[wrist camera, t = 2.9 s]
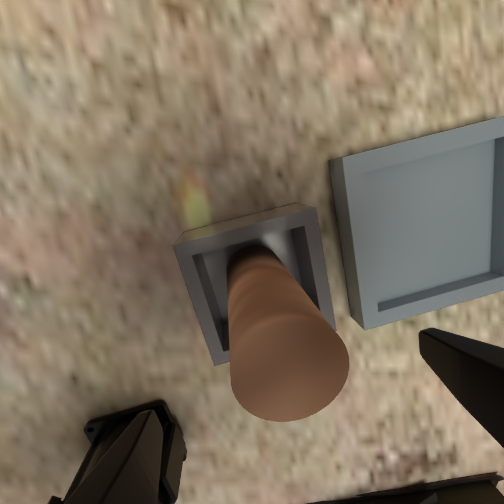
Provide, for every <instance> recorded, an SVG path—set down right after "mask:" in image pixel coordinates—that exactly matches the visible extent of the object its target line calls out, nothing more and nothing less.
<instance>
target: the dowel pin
mask: <svg viewBox="0 0 504 504" xmlns="http://www.w3.org/2000/svg"><path fill="white" fill-rule="evenodd" d="M227 296H228V322H229V349H230V376H231V386H232V390H233V393H234V395H235V397H236V399H237V400H238V402H239V403H240V404H241V406H242V407H243V408H244V409H246V410H247V411H248V412H250V413H251V414H253V415H255V416H257V417H259V418H262V419H265V420H270V421H277V422H287V421H295V420H299V419H303V418H306V417H308V416H311V415H313V414H315V413H317V412H318V411H320V410H322V409H323V408H325V407H326V406H327V405H328V404H329V403H331V402H332V401H333V400H334V399H335V397H336V396H337V395H338V394H339V392H340V391H341V389H342V388H343V386H344V384H345V382H346V379H347V376H348V371H349V356H348V352H347V349H346V347H345V344H344V343H343V341H342V339H341V338H340V337H339V336H338V334H337V333H336V332H335V330H334V329H333V328H332V326H331V325H330V324H329V322H328V321H327V320H326V319H325V317H324V316H323V315H322V313H321V312H320V311H319V309H318V308H317V307H316V306H315V304H314V303H313V302H312V300H311V299H310V298H309V296H308V295H307V294H306V293H305V291H304V290H303V289H302V287H301V286H300V285H299V283H298V282H297V281H296V280H295V278H294V277H293V276H292V274H291V273H290V272H289V270H288V269H287V268H286V267H285V265H284V264H283V263H282V261H281V260H280V259H279V257H278V256H277V255H276V254H275V253H274V252H273V251H272V250H271V249H269V248H267V247H265V246H261V245H250V246H246V247H243V248H241V249H240V250H238V251H237V252H236V253H235V254H234V255H233V256H232V257H231V259H230V261H229V263H228V266H227Z"/></svg>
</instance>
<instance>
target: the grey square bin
mask: <svg viewBox="0 0 504 504" xmlns="http://www.w3.org/2000/svg"><path fill="white" fill-rule="evenodd" d="M250 245H261V246H265V247H267V248H269V249H271V250H272V251H273V252H274V253H275V254H276V255H277V256H278V257H279V259H280V260H281V261H282V263H283V264H284V265H285V267H286V268H287V269H288V270H289V272H290V273H291V274H292V276H293V277H294V278H295V280H296V281H297V282H298V283H299V285H300V286H301V287H302V289H303V290H304V291H305V293H306V294H307V295H308V296H309V298H310V299H311V300H312V302H313V303H314V304H315V306H316V307H317V308H318V309H319V311H320V312H321V313H322V315H323V316H324V317H325V319H326V320H327V321H328V322H329V324H330V325H331V326H332V328H333V329H334V330H335V331H336V325H335V319H334V313H333V307H332V301H331V295H330V289H329V283H328V277H327V271H326V265H325V259H324V253H323V247H322V241H321V235H320V229H319V223H318V217H317V211H316V208H315V207H311V206H307V205H302V204H298V203H293V204H289V205H285V206H281V207H277V208H274V209H270V210H266V211H262V212H258V213H254V214H251V215H247V216H243V217H239V218H235V219H231V220H228V221H224V222H220V223H216V224H212V225H208V226H205V227H201V228H197V229H193V230H189V231H185V232H183V234H182V235H181V236H180V237H179V238H178V239H177V241H176V242H175V243H174V244H173V245H172V246H173V249H174V252H175V254H176V257H177V260H178V263H179V266H180V269H181V272H182V274H183V277H184V280H185V283H186V286H187V289H188V292H189V295H190V297H191V300H192V303H193V306H194V309H195V312H196V315H197V317H198V320H199V323H200V326H201V329H202V332H203V335H204V338H205V340H206V343H207V346H208V349H209V352H210V355H211V358H212V360H213V363H214V366H216V365H220V364H223V363H227V362H230V349H229V322H228V296H227V266H228V263H229V261H230V259H231V257H232V256H233V255H234V254H235V253H236V252H237V251H238V250H240V249H241V248H243V247H246V246H250Z"/></svg>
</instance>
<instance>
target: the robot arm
mask: <svg viewBox="0 0 504 504" xmlns="http://www.w3.org/2000/svg"><path fill="white" fill-rule="evenodd" d="M419 349H420V354H421V356H422V358H423V359H424V360H425V361H426V363H427V364H428V365H429V366H430V368H431V369H432V370H433V371H434V372H435V374H436V375H437V376H438V377H439V378H440V380H441V381H442V382H443V383H444V385H445V386H446V387H447V388H448V389H449V391H450V392H451V393H452V394H453V395H454V397H455V398H456V399H457V400H458V401H459V402H460V403H461V404H462V405H463V407H464V408H465V409H466V410H467V411H468V412H469V413H470V414H471V415H472V416H473V417H474V418H475V419H476V420H477V421H478V422H479V423H480V424H481V425H482V426H483V427H484V428H485V429H486V430H487V431H488V432H489V433H490V434H491V435H492V437H493V438H494V439H495V440H496V441H497V442H498V443H499V444H500V445H501V446H502V447H503V448H504V348H502V347H498V346H495V345H491V344H488V343H484V342H481V341H477V340H474V339H470V338H467V337H464V336H460V335H457V334H453V333H450V332H446V331H443V330H439V329H436V328H428V329H424V330H421V331H420V332H419ZM84 432H85V434H86V435H87V437H88V439H89V440H90V442H91V444H92V445H91V447H90V449H89V451H88V453H87V455H86V456H85V458H84V460H83V462H82V464H81V466H80V468H79V470H78V472H77V474H76V476H75V478H74V480H73V482H72V484H71V486H70V488H69V490H68V492H67V494H66V496H65V498H64V500H63V501H62V500H61V498H60V497H56V496H52V497H51V499H50V500H49V502H48V503H47V504H175V502H176V500H177V498H178V491H179V485H180V478H181V471H182V464H183V461H185V460H186V456H187V451H186V449H185V442H184V440H183V438H182V435H181V433H180V431H179V428H178V426H177V424H176V423H175V422H173V419H172V417H171V415H170V412H169V410H168V408H167V406H166V404H165V402H163V401H157V402H154V403H150V404H147V405H143V406H140V407H136V408H133V409H129V410H126V411H123V412H119V413H116V414H112V415H109V416H105V417H102V418H98V419H95V420H91V421H89V422H88V423H87V424H86V426H85V428H84Z"/></svg>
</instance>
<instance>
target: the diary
mask: <svg viewBox="0 0 504 504" xmlns="http://www.w3.org/2000/svg"><path fill="white" fill-rule="evenodd" d="M501 480H504V478H503V477H502V476H499V475H495V474H491V473H490V474H481V475H473V476H467V477H460V478H454V479H447V480H442V481H436V482H431V483H426V484H420V485H415V486H411V487H407V488H403V489H399V490H385V491H378V492H371V493H366V494H361V495H356V496H364V497H358V498H352V499H346V500H333V501H320V502H314V503H307V504H504V496H503V495H502V494H501V493H500V491H499V490H498V489H497V488H496V485H497V483H498V481H501Z"/></svg>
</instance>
